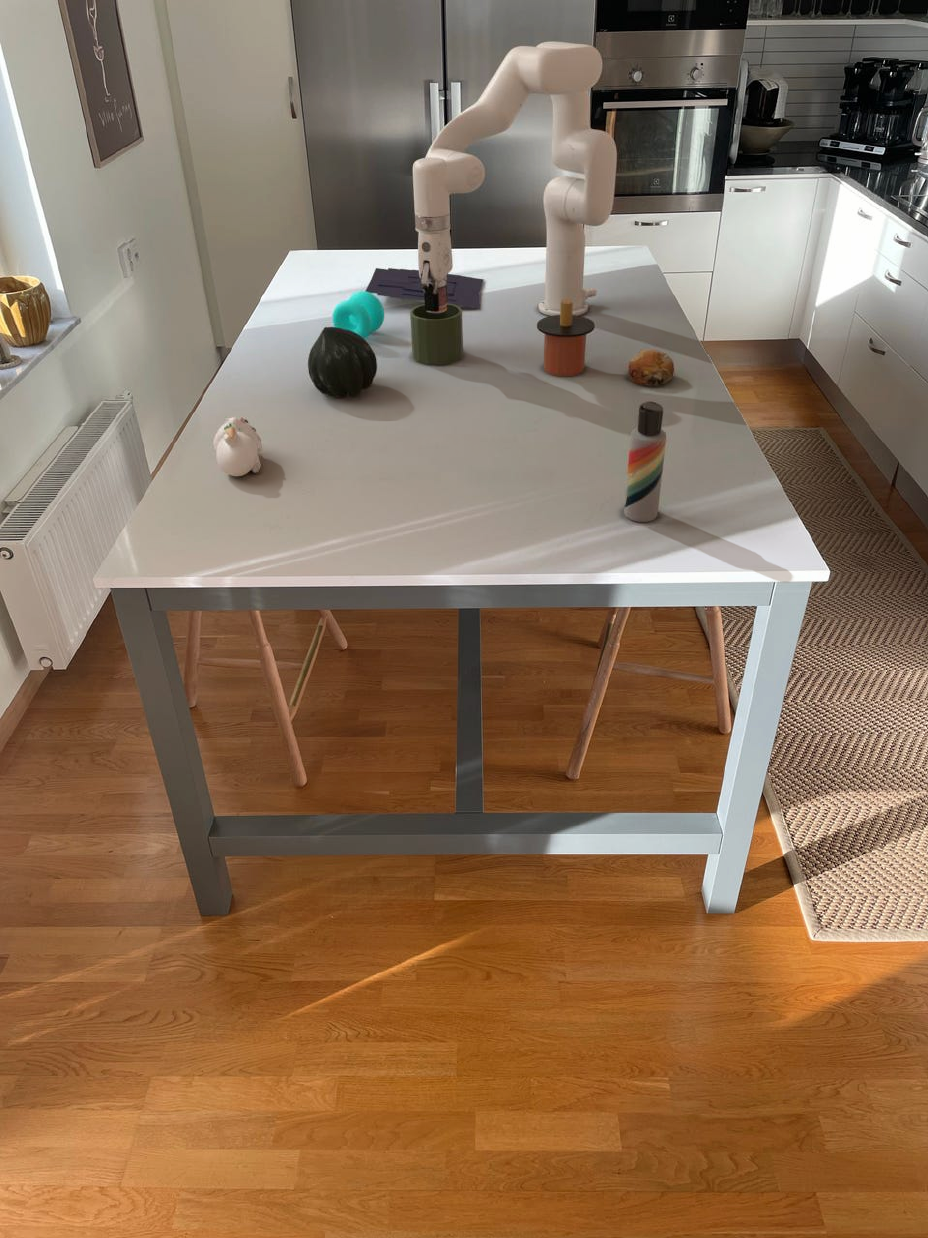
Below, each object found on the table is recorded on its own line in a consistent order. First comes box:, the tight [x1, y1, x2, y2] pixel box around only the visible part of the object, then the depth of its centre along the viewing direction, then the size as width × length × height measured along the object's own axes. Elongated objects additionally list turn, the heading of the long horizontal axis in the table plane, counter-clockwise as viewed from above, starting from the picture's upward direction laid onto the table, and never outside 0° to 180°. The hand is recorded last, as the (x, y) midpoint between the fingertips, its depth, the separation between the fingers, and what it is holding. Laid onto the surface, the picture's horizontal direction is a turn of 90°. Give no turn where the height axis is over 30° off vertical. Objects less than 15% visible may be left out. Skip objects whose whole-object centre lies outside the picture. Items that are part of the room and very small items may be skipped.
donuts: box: [332, 290, 385, 340], centre depth 231 cm, size 10×10×10 cm
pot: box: [409, 303, 464, 367], centre depth 219 cm, size 12×12×10 cm
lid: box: [536, 300, 596, 337], centre depth 208 cm, size 13×13×6 cm
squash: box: [307, 326, 378, 399], centre depth 204 cm, size 14×15×15 cm
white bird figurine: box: [213, 416, 263, 477], centre depth 178 cm, size 10×8×15 cm
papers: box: [365, 267, 485, 309], centre depth 257 cm, size 24×30×4 cm
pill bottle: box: [427, 276, 447, 313], centre depth 214 cm, size 5×5×8 cm
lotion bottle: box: [623, 401, 667, 523], centre depth 157 cm, size 6×6×20 cm
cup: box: [543, 334, 587, 377], centre depth 212 cm, size 9×9×9 cm
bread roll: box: [628, 348, 675, 387], centre depth 208 cm, size 10×10×8 cm
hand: (436, 305), depth 216 cm, fingers closed on pill bottle, 4 cm apart
